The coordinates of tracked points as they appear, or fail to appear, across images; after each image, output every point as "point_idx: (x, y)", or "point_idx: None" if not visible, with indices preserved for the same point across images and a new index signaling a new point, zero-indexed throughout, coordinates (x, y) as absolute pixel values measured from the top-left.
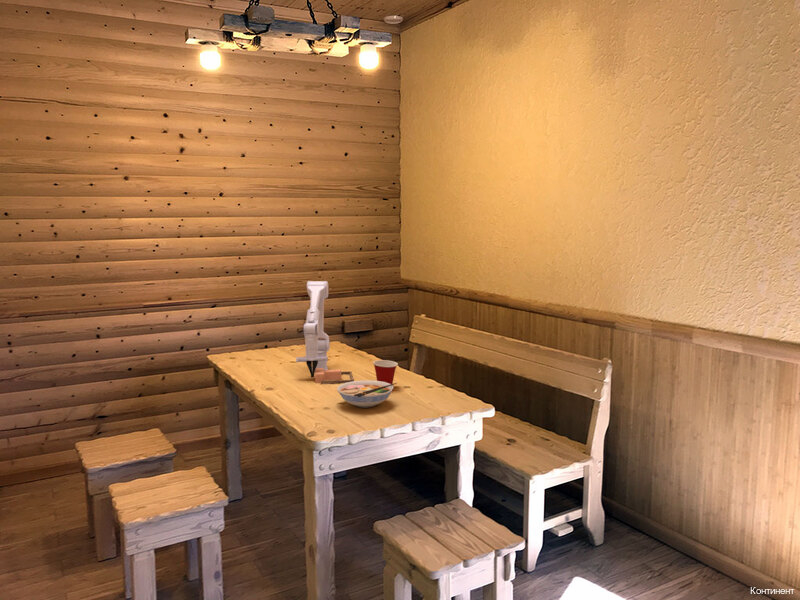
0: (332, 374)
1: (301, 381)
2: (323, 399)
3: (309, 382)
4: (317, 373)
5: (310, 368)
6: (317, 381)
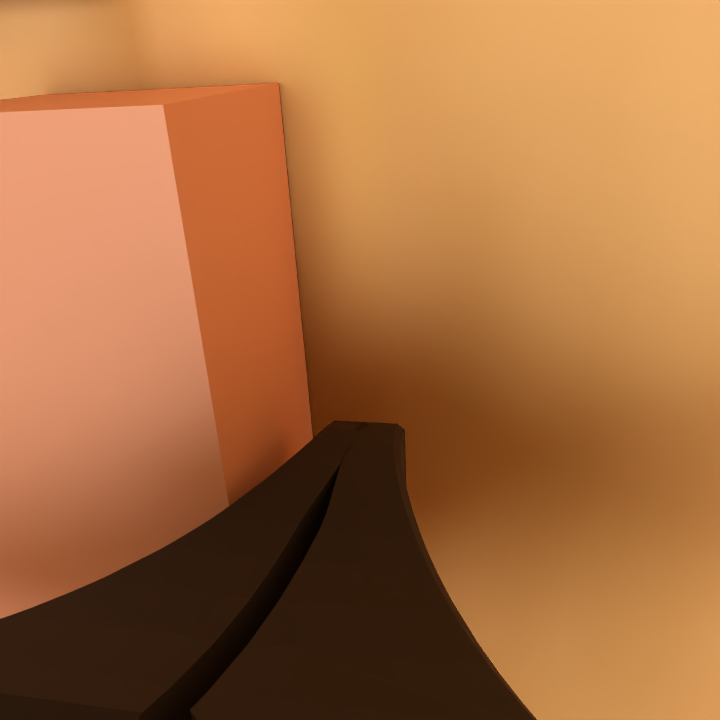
0: None
1: (688, 326)
2: None
3: (458, 179)
4: (103, 257)
5: (361, 579)
6: (205, 88)
